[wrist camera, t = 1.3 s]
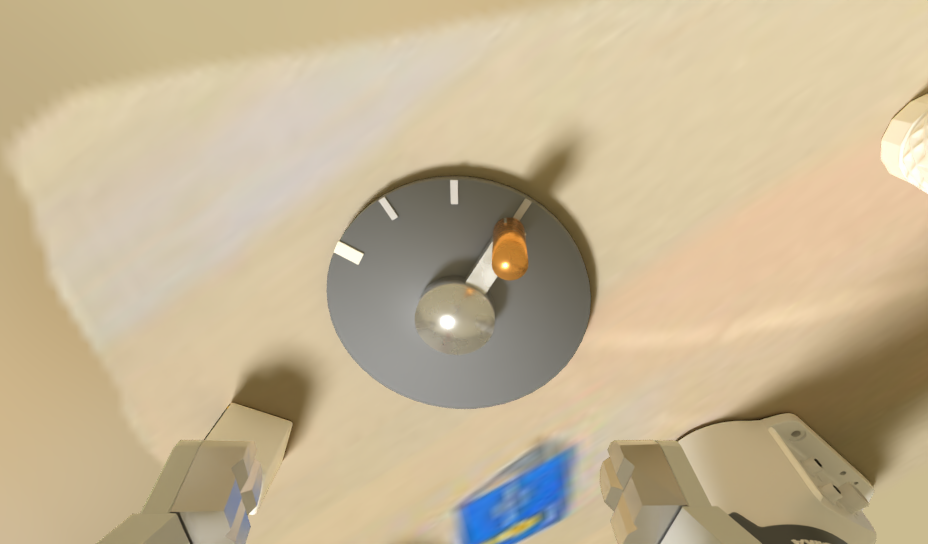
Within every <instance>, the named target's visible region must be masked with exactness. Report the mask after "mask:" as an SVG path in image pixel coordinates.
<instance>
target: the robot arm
mask: <svg viewBox="0 0 928 544" xmlns="http://www.w3.org/2000/svg"><path fill="white" fill-rule="evenodd" d="M608 452H609V455H610V457H609V458H607V459H606V460H604V461H603V463H602V466H601V469H600V486H601V492H602V495H603V499H604V502H605V503H606V504H607V505H608V506H609V507H610V508H611V509H612V510H613V511H614V513H613V515H612V518H611V524H612V527H613V531H614V534H615V537H616V540H617V543H618V544H875V542H876V532H875V530H874V528H873V526H872V525H871V523H870V522H869V520H868V519H867V518H866V516H865V515H864V513H863V512H862V510H863V509H864V508H865V507H867V506H868V505H869V501H870V499H871V498H872V496H873V493H874V488H873V487H872V485H871V484H870V482H869V481H868V480H867V479H866V478H865V477H864V476H863V475H862V474H861V473H860V472H859V471H857V470H856V469H855V468H854V467H853V466H852V465H851V464H850V463H849V462H847V461H846V460H845V459H844V458H843V457H842V456H841V455H840V454H839V453H837V452H836V451H835V450H834V449H833V448H832V447H831V446H830V445H829V444H827V443H826V442H825V441H824V440H823V439H822V438H821V437H820V436H819V435H817V434H816V433H815V432H814V431H813V430H812V429H811V428H810V427H809V426H807V425H806V424H805V423H804V422H803V421H802V420H801V419H800V418H799V417H797V416H796V415H794V414H791V413H785V414H779V415H775V416H772V417H768V418H765V419H762V420H755V421H730V422H723V423H718V424H713V425H710V426H707V427H704V428H701V429H699V430H696V431H694V432H692V433H690V434H688V435H687V436H685V437H684V438H682V439H681V440H679V441H678V442H677V441H674V440H660V441H654V440H614V441H613V442H611V443H610V445H609V448H608ZM256 453H257V447H256V444H255V441H218V440H180V441H179V442H178V443H177V444H176V446H175V447H174V448H173V450H172V452H171V454H170V456H169V458H168V460H167V462H166V464H165V466H164V468H163V469H162V471H161V473H160V475H159V477H158V479H157V482H156V483H155V485H154V487H153V489H152V491H151V493H150V495H149V497H148V499H147V501H146V503H145V505H144V507H143V509H142V511H141V513H138V514H132V515H130V516H129V517H128V518H127V519H126V520H124V521H123V522H122V523H121V524H120V525H118V526H117V527H116V528H115V529H113V530H112V531H111V532H110V533H109V534H107V535H106V536H105V537H104V538H102V539H101V540H100V541H99V542H97V543H96V544H245V543H246V540H247V536H248V533H249V530H250V523H249V520H248V516H247V515H248V514H249V513H250V512H251V511H252V510H253V509H254V508H255V507H257V504H258V500H259V497H260V493H261V486H262V467H261V463H260V462H259V461H257V460H256V459H255V456H256Z"/></svg>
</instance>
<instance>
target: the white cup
mask: <svg viewBox="0 0 928 544" xmlns="http://www.w3.org/2000/svg"><path fill="white" fill-rule="evenodd" d="M881 160H882V162H883V164H884V165H885V167H886V168H887V170H888V172H889V173H890V174H892V175H894V176H896V177H898V178H901V179H903V180H905V181H907V182H909V183H911V184H913V185H915V186H917V187H918V188H919V189H920V190H921V191H924V192H926V193H928V93H927V94H925V95H923V96H921V97H919V98H917V99H915V100H913V101H911V102H910V103H909V104H908V105H906V106H905V107H904V108H903V109H902V110H901V111H900V112H899V113H898V114H897V115H896V116H895V117H894V118H893V119H892V120H891V122H890V124H889V126H888V128H887V130H886V132H885V134H884V135H883V137H882V140H881Z"/></svg>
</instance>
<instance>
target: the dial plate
mask: <svg viewBox="0 0 928 544" xmlns="http://www.w3.org/2000/svg"><path fill="white" fill-rule="evenodd" d="M509 217H510V218H515V219H517V220H519V221H520V222H521V223H522V224H523V226H524V229H526V236H525V237H526V246H527V255H528V269H527V271H526V273H525V274H524V275H523V276H522V277H520V278H519V279H516V280H504V279H501V278H500V277H498V276H497V278H496V279H495V281H494V282H493V284H492V285H491V287H490V288H489V290H488V292H489V293H490V295H491V297H492V299H493V301H494V305H495V325H494V331H493V333H492V336H491V337H490V339H489V340H488V342H487V343H486V344H485V345H484V346H482V347H481V348H480V349H478V350H476V351H474V352H471V353H468V354H462V355H452V354H446V353H442V352H439V351H437V350H435V349H433V348H431V347H430V346H429V345H427V344H426V343H425V342H424V341H423V340H422V338H421V337H420V335H419V334H418V332H417V330H416V326H415V312H416V308H417V305H418V302H419V299H420V296H421V294H422V292H423V291H424V289H425V288H426V287H427V286H428V285H429V284H431V283H432V282H434V281H435V280H437V279H440V278H443V277H447V276H462V277H467V275H468V274H469V272H470V270H471V269H472V267H473V266H474V264H475V263H476V261H477V260H478V258H479V257H480V255H481V254H482V252H483V250H484V249H485V247H486V246H487V244H488V243H489V241H490V240H491V238H492V237H493V229H494V226H495V225H496V223H497V222H498V221H499V220H501V219H503V218H509ZM327 301H328V308H329V312H330V316H331V320H332V323H333V325H334V328H335V330H336V333H337V335H338V337H339V338H340V340H341V342H342V344H343V346H344V347H345V349H346V350H347V351H348V353H349V354H350V355H351V357H352V358H353V359H354V360H355V361H356V362H357V364H358V365H359V366H360V367H361V368H362V369H363V370H364V371H366V372H367V373H368V374H369V375H370V376H371V377H372V378H374V379H375V380H377V381H378V382H379V383H381V384H382V385H384V386H385V387H387V388H389V389H391V390H392V391H394V392H396V393H398V394H400V395H402V396H405V397H407V398H410V399H412V400H415V401H418V402H422V403H425V404H428V405H433V406H439V407H444V408H455V409H476V408H485V407H491V406H496V405H500V404H505V403H508V402H511V401H514V400H517V399H519V398H521V397H524V396H526V395H528V394H530V393H532V392H534V391H535V390H537V389H539V388H540V387H542V386H544V385H545V384H546V383H547V382H549V381H550V380H551V379H553V378H554V377H555V376H556V375H557V374H558V373H559V372H560V371H561V370H562V369H563V368H564V367H565V366H566V365H567V364H568V362H569V361H570V359H571V358H572V357H573V355H574V354H575V352H576V351H577V349H578V347H579V345H580V343H581V341H582V339H583V336H584V334H585V331H586V328H587V325H588V320H589V315H590V303H591V294H590V285H589V279H588V275H587V271H586V268H585V264H584V261H583V259H582V257H581V254H580V252H579V250H578V247H577V245H576V243H575V242H574V240H573V239H572V237H571V235H570V234H569V232H568V231H567V229H566V228H565V227H564V226H563V225H562V224H561V222H560V221H559V220H558V219H557V218H556V217H555V216H554V215H553V214H552V213H551V212H550V211H549V210H547V209H546V208H545V207H544V206H543V205H541V204H540V203H538V202H537V201H535V200H534V199H532V198H531V197H530V196H528V195H526V194H524V193H522V192H520V191H518V190H516V189H514V188H512V187H510V186H507V185H504V184H501V183H498V182H495V181H491V180H486V179H482V178H477V177H467V176H440V177H432V178H427V179H422V180H417V181H414V182H411V183H408V184H405V185H402V186H400V187H398V188H395V189H393V190H391V191H389V192H387V193H385V194H384V195H382V196H381V197H379V198H378V199H376V200H375V201H373V202H372V203H371V204H369V205H368V206H367V207H366V208H365V209H364V210H363V211H362V212H361V213H360V214H359V215H358V216H357V217H356V218H355V220H354V221H353V222H352V223H351V224H350V226H349V227H348V228H347V230H346V231H345V232H344V234H343V236H342V237H341V239H340V241H338V243H337V246H336V248H335V250H334V254H333V256H332V259H331V262H330V266H329V271H328V276H327Z"/></svg>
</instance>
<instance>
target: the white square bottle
mask: <svg viewBox="0 0 928 544" xmlns="http://www.w3.org/2000/svg"><path fill="white" fill-rule="evenodd" d="M292 425H293V423H292V422H291V421H289V420H286V419H282V418H279V417H276V416H273V415H270V414H267V413H264V412H261V411H258V410H255V409H251V408H248V407H245V406H242V405H239V404H236V403H230V404H229V406H228V407H227V408H226V410H225V411H224V412H223V414H222V415H221V417H220V418H219V419H218V421H217V422H216V424H215V425H214V426H213V428H212V429H211V431H210V432H209V433H208V435H207V436H206V438H205V439H204V440H218V441H255V444H256V447H257V453H256V456H255V459H256V460H257V461H259V462H260V463H261V467H262V486H261V493H260V497H259V500H258V504H257V507H255V508H254V509H253V510H252V511H251V512H250V513H249V514H251V515H254V514H256V513H257V511H258V509H259V507H260V505H261V503H262V501H263V499H264V497H265V495H266V493H267V491H268V489H269V487H270V485H271V483H272V481H273V479H274V477H275V475H276V473H277V471H278V469H279V467H280V465H281V463H282V460H283V457H284V453H285V450H286V446H287V443H288V439H289V436H290V432H291V429H292Z"/></svg>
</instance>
